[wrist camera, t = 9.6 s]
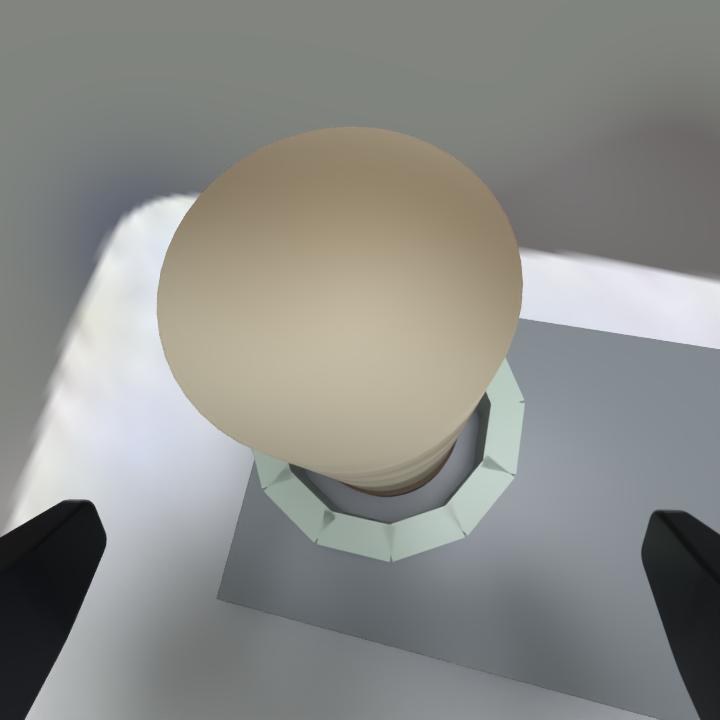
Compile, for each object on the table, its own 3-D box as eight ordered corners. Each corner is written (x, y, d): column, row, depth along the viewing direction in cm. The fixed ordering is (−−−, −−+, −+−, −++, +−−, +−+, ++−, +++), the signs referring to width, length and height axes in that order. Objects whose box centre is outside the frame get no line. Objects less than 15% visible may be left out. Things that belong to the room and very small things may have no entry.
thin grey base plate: (890, 389, 18) (1010, 358, 14) (926, 780, 14) (1095, 868, 11) (308, 296, 21) (287, 253, 17) (229, 593, 18) (183, 613, 14)
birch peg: (442, 511, 17) (500, 517, 5) (304, 479, 18) (95, 425, 6) (465, 373, 18) (552, 140, 7) (335, 350, 19) (214, 106, 7)
